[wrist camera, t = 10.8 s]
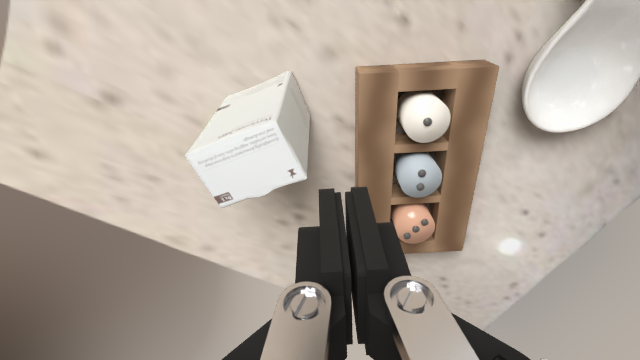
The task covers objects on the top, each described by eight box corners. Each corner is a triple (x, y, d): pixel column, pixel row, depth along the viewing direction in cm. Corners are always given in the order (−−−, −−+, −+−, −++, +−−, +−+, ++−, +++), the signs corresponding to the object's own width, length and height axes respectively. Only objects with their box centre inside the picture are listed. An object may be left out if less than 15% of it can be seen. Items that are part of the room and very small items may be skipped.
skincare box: (291, 68, 38) (280, 112, 25) (312, 117, 40) (312, 180, 27) (223, 97, 39) (179, 153, 26) (248, 142, 42) (220, 213, 29)
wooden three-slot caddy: (484, 59, 38) (499, 66, 34) (452, 234, 49) (462, 250, 46) (355, 66, 38) (359, 74, 35) (355, 239, 49) (358, 255, 46)
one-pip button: (439, 86, 39) (454, 98, 35) (434, 126, 41) (448, 142, 37) (396, 88, 39) (406, 100, 35) (394, 129, 41) (403, 144, 37)
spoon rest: (605, 111, 41) (657, 134, 35) (503, 131, 42) (537, 157, 36) (658, -150, 30) (750, -185, 23) (517, -113, 31) (569, -137, 24)
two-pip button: (432, 143, 42) (445, 160, 38) (428, 178, 44) (439, 197, 40) (393, 146, 42) (401, 163, 38) (391, 180, 44) (399, 199, 40)
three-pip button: (426, 192, 46) (437, 212, 42) (423, 222, 48) (433, 243, 44) (390, 194, 46) (397, 214, 42) (388, 223, 48) (395, 245, 44)
